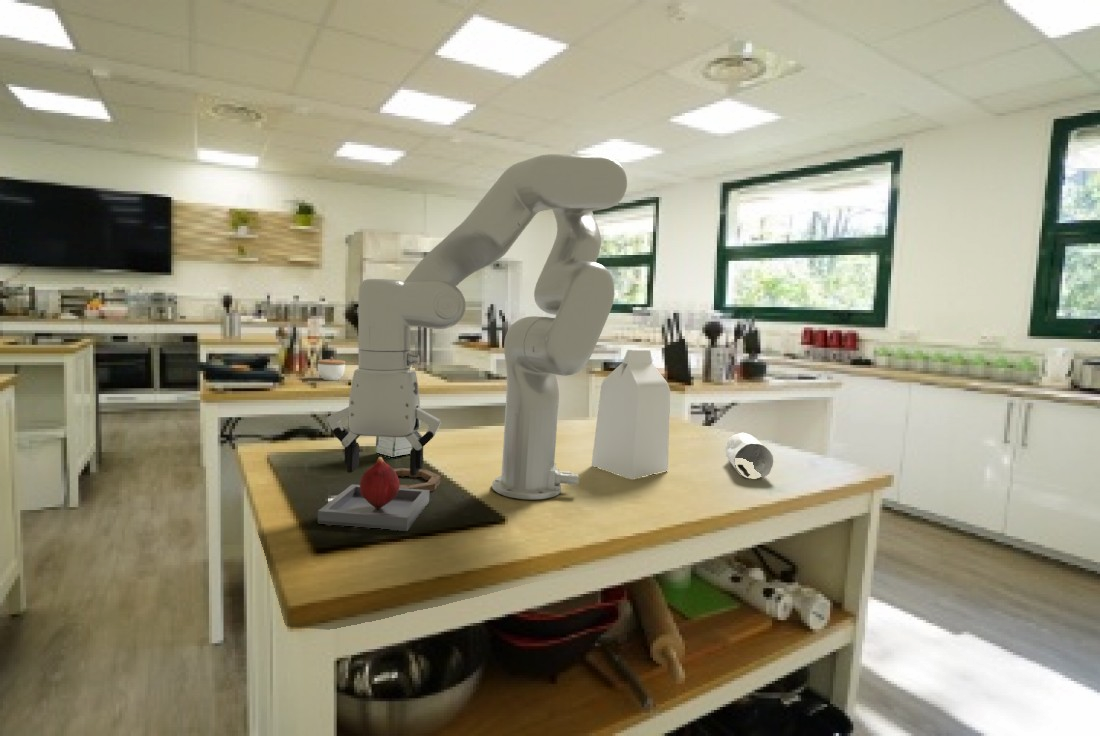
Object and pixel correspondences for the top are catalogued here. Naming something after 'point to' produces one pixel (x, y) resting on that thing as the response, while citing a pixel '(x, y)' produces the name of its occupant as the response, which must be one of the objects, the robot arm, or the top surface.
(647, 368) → the milk
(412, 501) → the dish
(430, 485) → the ring
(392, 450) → the syrup box
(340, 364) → the lidded jar
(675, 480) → the top surface
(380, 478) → the onion
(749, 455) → the tipped white cup
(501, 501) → the top surface
